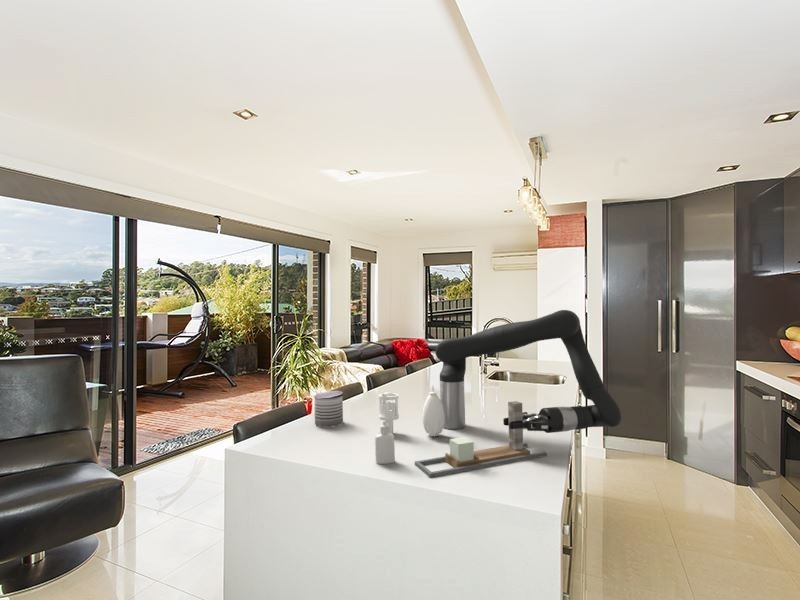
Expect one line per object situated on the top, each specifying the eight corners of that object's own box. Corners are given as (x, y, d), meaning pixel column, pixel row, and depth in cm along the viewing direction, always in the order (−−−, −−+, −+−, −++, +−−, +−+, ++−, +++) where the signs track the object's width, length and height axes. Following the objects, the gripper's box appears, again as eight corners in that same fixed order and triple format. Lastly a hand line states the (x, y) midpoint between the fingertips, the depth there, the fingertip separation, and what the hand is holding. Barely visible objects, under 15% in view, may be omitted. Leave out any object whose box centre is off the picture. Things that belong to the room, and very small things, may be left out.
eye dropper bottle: (379, 458, 130) (378, 418, 130) (396, 460, 128) (395, 420, 128) (373, 463, 126) (372, 422, 126) (391, 465, 124) (390, 423, 124)
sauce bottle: (444, 440, 146) (442, 387, 146) (421, 439, 147) (420, 386, 148) (446, 433, 154) (445, 382, 154) (424, 432, 155) (423, 382, 155)
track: (414, 465, 124) (414, 461, 124) (525, 445, 138) (525, 442, 138) (429, 477, 114) (429, 473, 114) (547, 455, 129) (546, 452, 129)
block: (450, 456, 125) (449, 439, 125) (464, 453, 127) (464, 437, 127) (458, 462, 121) (458, 444, 121) (473, 459, 122) (473, 441, 122)
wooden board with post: (445, 461, 126) (444, 408, 126) (515, 448, 135) (514, 399, 135) (457, 469, 119) (456, 413, 119) (530, 455, 129) (529, 404, 129)
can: (340, 427, 164) (340, 396, 164) (311, 427, 164) (310, 396, 164) (345, 419, 175) (344, 390, 176) (317, 419, 176) (317, 390, 176)
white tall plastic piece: (375, 434, 153) (375, 392, 154) (385, 429, 160) (384, 389, 160) (393, 437, 150) (392, 394, 150) (402, 431, 156) (401, 390, 157)
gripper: (545, 402, 141) (496, 406, 137) (571, 412, 127) (517, 417, 123) (546, 425, 141) (497, 429, 137) (571, 438, 127) (518, 443, 123)
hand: (507, 423), depth 130 cm, fingers closed on wooden board with post, 3 cm apart
